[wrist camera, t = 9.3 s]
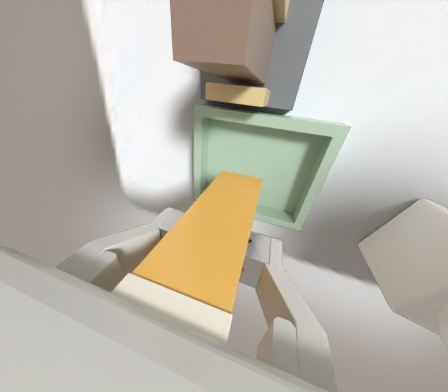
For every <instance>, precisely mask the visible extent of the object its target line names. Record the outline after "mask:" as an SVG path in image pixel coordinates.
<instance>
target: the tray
mask: <svg viewBox="0 0 448 392" xmlns="http://www.w3.org/2000/svg"><path fill="white" fill-rule="evenodd" d="M193 112H194V202H195V201H196V200H197V199H198V198H199V196H200V195H201V194H202V193H203V192H204V191H205V190H206V189H207V187H208V186H209V185H210V184H211V183H212V182H213V181H214V180H215V178H216V177H217V176H218V175H219V174H220V173H221V172H222V170H224V171H228V172H233V173H238V174H242V175H247V176H251V177H256V178H261V179H263V183H262V187H261V191H260V195H259V199H258V203H257V208H256V212H255V216H254V219H256V220H260V221H264V222H267V223H271V224H274V225H278V226H281V227H285V228H289V229H292V230H296V231H299V232H300V230H301V228H302V226H303V224H304V222H305V220H306V218H307V216H308V214H309V212H310V210H311V208H312V206H313V204H314V202H315V200H316V198H317V196H318V193H319V191H320V189H321V187H322V185H323V183H324V181H325V179H326V177H327V175H328V173H329V171H330V169H331V167H332V165H333V163H334V161H335V159H336V157H337V154H338V152H339V150H340V148H341V146H342V144H343V142H344V140H345V138H346V136H347V134H348V132H349V130H350V128H351V127H350V126H347V125H344V124H341V123H337V122H329V121H322V120H314V119H307V118H299V117H292V116H284V115H277V114H269V113H262V112H254V111H247V110H239V109H232V108H224V107H217V106H210V105H193Z"/></svg>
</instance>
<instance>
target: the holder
mask: <svg viewBox="0 0 448 392" xmlns="http://www.w3.org/2000/svg"><path fill="white" fill-rule="evenodd" d="M323 2H324V0H170V10H171V28H172V46H173V60H174V61H177V62H180V63H182V64H185V65H188V66H190V67H193V68H196V69H198V70H201V99H205V100H212V101H220V102H228V103H236V104H244V105H252V106H260V107H269V108H277V109H285V110H293V106H294V103H295V99H296V96H297V92H298V89H299V85H300V82H301V78H302V75H303V72H304V68H305V65H306V61H307V58H308V54H309V51H310V47H311V44H312V40H313V37H314V33H315V30H316V27H317V23H318V20H319V16H320V13H321V9H322V6H323Z"/></svg>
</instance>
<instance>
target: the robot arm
mask: <svg viewBox="0 0 448 392" xmlns="http://www.w3.org/2000/svg"><path fill="white" fill-rule="evenodd" d="M184 213H185V212H184V211H180V210H176V209H173V208H170V207H168V208H166V209H164V210H163V211H162V212H161V213H160V214H159V215H158V216H157V217H156V218H154V219H153V220H152V221H151V222H150V223H149V224H148V225H146V224H144V225H140V226H138V227H135V228H131V229H129V230H125V231H122V232H119V233H116V234H113V235H110V236H107V237H104V238H101V239H98V240H95V241H92V242H89V243H88V244H86V245H85V246H83V247H82V248H81V249H79V250H78V251H77V252H75V253H74V254H72V255H71V256H69V257H68V258H67V259H65V260H64V261H63V262H61V263H60V264H58V265H57V266H56V267H53V266H51V265H49V264H47V263H45V262H42V261H40V260H38V259H36V258H34V257H31V256H29V255H27V254H24V253H23V252H20V251H18V250H16V249H14V248H12V247H9V246H7V245H5V244H2V243H0V392H338V389H337V384H336V379H335V374H334V369H333V364H332V359H331V353H330V348H329V343H328V338H327V334H326V333H325V331H324V329H323V328H322V326H321V325H320V323H319V322H318V320H317V318H316V317H315V315H314V314H313V312H312V310H311V309H310V307H309V306H308V304H307V303H306V301H305V300H304V298H303V296H302V295H301V293H300V292H299V290H298V288H297V287H296V285H295V284H294V282H293V281H292V279H291V277H290V276H289V274H288V273H287V271H286V270H284V269H282V240H281V239H277V238H274V237H269V236H266V235H262V234H259V233H255V232H252V231H251V233H250V237H249V241H248V245H247V249H246V253H245V258H244V262H243V266H242V270H241V274H240V278H239V282H241V283H243V284H246V285H248V286H251V287H254V288H256V292H257V296H258V298H259V301H260V304H261V307H262V310H263V313H264V316H265V319H266V322H267V325H268V327H269V328H268V330H267V331H266V333H265V335H264V336H263V338H262V340H261V341H260V343H259V344H258V347H257V357H256V358H254V357H252V356H250V355H248V354H245V353H243V352H241V351H239V350H237V349H234V348H232V347H230V346H228V345H225V344H223V343H221V342H218V341H216V340H214V339H212V338H210V337H207V336H205V335H203V334H201V333H199V332H196V331H194V330H192V329H190V328H188V327H185V326H183V325H181V324H179V323H176V322H174V321H172V320H170V319H168V318H165V317H163V316H161V315H159V314H157V313H154V312H152V311H150V310H148V309H146V308H143V307H141V306H139V305H137V304H134V303H132V302H130V301H128V300H126V299H123V298H121V297H119V296H117V295H115V294H112V293H111V292H112V291H113V290H114V289H115V287H116V286H117V285H118V284H119V283H120V282H121V281H122V280H123V279H124V277H125V276H126V275H127V274H128V273H132V272H133V271H134V270H135V269H136V268H137V267H138V265H139V264H140V263H141V262H142V261H143V260H144V259H145V258H146V256H147V255H148V254H149V253H150V252H151V251H152V250H153V248H154V247H155V246H156V245H157V244H158V243H159V242H160V241H161V239H162V238H163V237H164V236H165V235H166V234H167V233H168V232H169V230H170V229H171V228H172V227H173V226H174V225H175V224H176V222H177V221H178V220H179V219H180V218H181V217H182V216H183V215H184Z"/></svg>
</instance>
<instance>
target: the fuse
mask: <svg viewBox="0 0 448 392" xmlns="http://www.w3.org/2000/svg"><path fill="white" fill-rule="evenodd" d="M262 183H263V179H261V178H256V177H251V176H247V175H242V174H238V173H233V172H228V171H224V170H222V172H221V173H220V174H219V175H218V176H217V177H216V178H215V180H214V181H213V182H212V183H211V184H210V185H209V186H208V187H207V189H206V190H205V191H204V192H203V193H202V194H201V195H200V196H199V198H198V199H197V200H196V201H195V202H194V203H193V204H192V206H191V207H190V208H189V209H188V210H187V211H186V212H185V213H184V215H183V216H182V217H181V218H180V219H179V220H178V221H177V222H176V224H175V225H174V226H173V227H172V228H171V229H170V230H169V232H168V233H167V234H166V235H165V236H164V237H163V238H162V239H161V241H160V242H159V243H158V244H157V245H156V246H155V247H154V248H153V250H152V251H151V252H150V253H149V254H148V255H147V256H146V258H145V259H144V260H143V261H142V262H141V263H140V264H139V265H138V267H137V268H136V269H135V270H134V271H133V272H132V273H128V274H127V275H126V276H125V277H124V279H123V280H122V281H121V282H120V283H119V284H118V285H117V286H116V287H115V289H114V290H113V291H112V292H111V293H112V294H115V295H117V296H119V297H121V298H123V299H126V300H128V301H130V302H132V303H134V304H137V305H139V306H141V307H143V308H146V309H148V310H150V311H152V312H154V313H157V314H159V315H161V316H163V317H165V318H168V319H170V320H172V321H174V322H176V323H179V324H181V325H183V326H185V327H188V328H190V329H192V330H194V331H196V332H199V333H201V334H203V335H205V336H207V337H210V338H212V339H214V340H216V341H218V342H221V343H223V344H225V345H226V343H227V338H228V334H229V329H230V325H231V321H232V317H233V315H231V312H232V307H233V303H234V299H235V295H236V291H237V287H238V282H239V278H240V274H241V270H242V266H243V262H244V258H245V253H246V249H247V245H248V241H249V237H250V233H251V228H252V224H253V220H254V216H255V212H256V208H257V203H258V199H259V195H260V191H261V187H262Z"/></svg>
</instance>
